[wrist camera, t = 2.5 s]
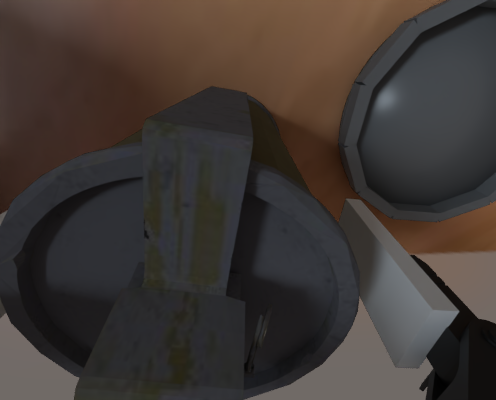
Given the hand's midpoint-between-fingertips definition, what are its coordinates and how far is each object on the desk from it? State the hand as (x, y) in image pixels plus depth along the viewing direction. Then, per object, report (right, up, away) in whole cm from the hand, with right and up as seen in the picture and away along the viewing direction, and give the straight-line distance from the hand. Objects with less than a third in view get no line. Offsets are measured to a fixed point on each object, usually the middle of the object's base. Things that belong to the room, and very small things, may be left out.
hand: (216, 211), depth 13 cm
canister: (0, +5, +10) cm, 11 cm away
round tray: (+19, +7, +9) cm, 22 cm away
